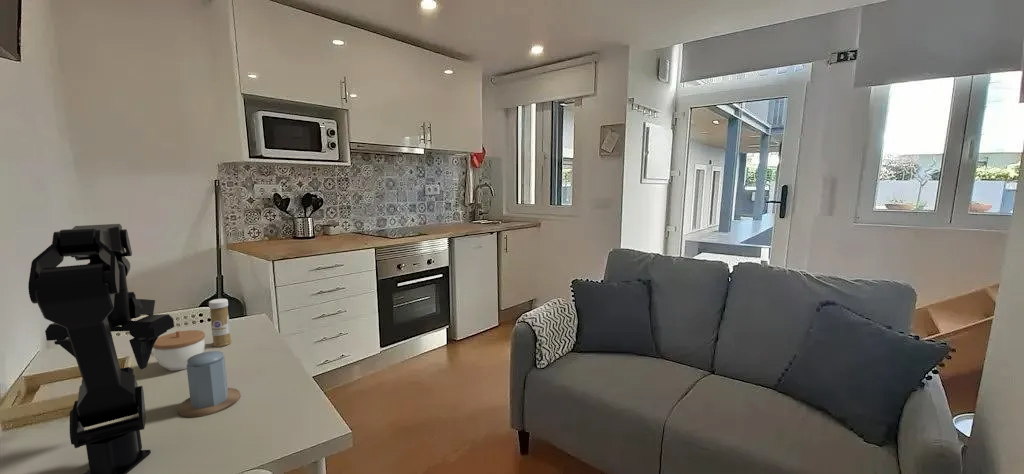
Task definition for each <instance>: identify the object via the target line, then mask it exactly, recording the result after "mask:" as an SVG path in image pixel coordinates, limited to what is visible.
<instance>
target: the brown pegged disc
mask: <svg viewBox="0 0 1024 474" xmlns="http://www.w3.org/2000/svg"><path fill="white" fill-rule="evenodd" d="M240 399H241V392H240V390H239V389H237V388H234V387H228V397H227V399H226V400H225V401H223V402H221V403H219V404H217V405H215V406H212V407H207V408H201V409H198V408H194V407H191V400H190V397H188V398H186V399H185V400H183V401H182V402H181V403H180V404H179V405H178V408H177V410H178V411H177V413H178V412H179V413H178V415H179V416H181V415H182V416H181V417H184V416H186V418H199V417H198V416H200V417H206V416H209V415H213V413H214V414H217V413H219V412H222V411H224V410H227V409H228V408H230V407H232V406H233V405H235V404H236V403H237V402H239V400H240ZM203 415H204V416H203ZM205 415H206V416H205Z"/></svg>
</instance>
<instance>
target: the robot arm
mask: <svg viewBox="0 0 1024 474" xmlns="http://www.w3.org/2000/svg"><path fill="white" fill-rule="evenodd" d="M131 247H132V246H131V241H130V238H129V233H128V230H127V229H126V228H125V229H123V226H122V224H121V223H110V224H89V225H88V224H87V225H74V227H73V228H70V229H61V230H58V231H54V232H53V235H52V242H51V244H50V245H49V246H48V247H47V248H45V249H44V250H43V251H41V253H39V254H38V255H37V256H36V257H35V258H34V259H32V261H31V265H30V272H29V279H28V284H27V285H28V288H27V289H28V294H29V296H28V297H29V298H30V301H31V303H32V304H37V305H38V308H39V310H40V312H41V313H42V316H43V319H45V320H46V321H49V322H52V323H50V324H49V325H48V326H47V327H46V330H44V333H45V337H46V342H47V341H49V342H50V341H53V343H54V345H56V346H57V345H58V346H60V347H61V348H63V349H64V350H65V351H66V352H67V353H69V354H70V355H71V356H73V357H74V358H75V360H76V361H75V362H76V364H77V366H78V369H79V373H80V375H81V384H80V385H79V389H78V396H77V400H75V401H74V403H73V407H72V409H71V410H70V411H69V438H70V440H69V441H70V444H71V445H73V447H74V449H78V448H80V447H83V446H85V449H86V454H87V455H86V456H87V462H88V467H89V469H87V470H86V471H85V472H84V473H83V474H127V473H129V472H130V471H131V470H132V469H134V468H135V467H136V466H137V465H139V463H141V462H143V460H144V459H146V458H147V457H148V456H149V455H150V454H151V451H152V450H151V449H143V444H142V436H141V431H143V430H145V427H146V421H147V420H146V419H147V416H146V404H145V394H144V393H145V392H144V387H143V385H139V383H138V382H137V378H136V375H135V373H134V369H133V368H132V367H130V366H128V367H123V368H121V367H120V362H119V360H118V359H119V358H118V355H117V350H116V347H115V343H114V338H113V336H112V332H114V333H115V332H128V333H129V335H130V336H131V337H132V338H131V339H129V340H128V341H129V344H130V347H131V350H132V353H133V355H134V356H133V357H134V358H135V362H136V363H137V365H138V367H139V369H140V370H144V369H146V368H147V366H148V364H149V361H150V358H151V354H152V352H153V346H154V344H155V342H156V340H157V338H159V337H161V335H162V336H163V334H165V333H167V331H169V330H171V329H173V328H175V322H174V318H173V316H172V315H170V314H164V313H163V314H154V312H155V306H156V305H155V304H156V300H155V299H146V298H145V299H144V298H136V294H135V292H134V291H129V289H128V280H127V277H128V275H129V273H130V271H131V263H130V261H129V260H128V258H126V257H132V255H133V250H132V248H131ZM65 257H67V258H68V257H71V258H74V259H75V261H86V260H87V261H89V262H88V263H87V264H85V263H84V264H77V265H76V264H75V265H74V264H73V265H67V266H66V265H65V266H59V265H60V264H62V263H63V262H64V258H65ZM141 315H142V316H143V315H146V316H145V317H142V316H141ZM139 317H142V318H140V319H137V318H139ZM133 319H137V320H133ZM137 414H138V415H137ZM135 415H137V416H135ZM131 416H134V417H131ZM126 417H130V418H127V419H124V418H126ZM120 419H122V420H120ZM115 420H118V421H115ZM112 421H115V422H112ZM107 422H110V423H109V424H108V423H107ZM104 423H107V424H104ZM100 424H103V425H100ZM96 425H98V426H96ZM99 425H100V426H99ZM92 426H93V427H92ZM94 426H96V427H94ZM89 427H92V428H89ZM85 428H89V429H85Z"/></svg>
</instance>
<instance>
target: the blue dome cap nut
mask: <svg viewBox="0 0 1024 474" xmlns="http://www.w3.org/2000/svg"><path fill="white" fill-rule="evenodd" d="M225 358H226V357H225V355H224V352H223V351H221V350H211V351H204V353H200V354H197V355H194V356H192V357H190V358H189V359H188V360H187V363H188V364H187V369H186V372H187V374H186V375H187V381H188V391H189V398H190V400H191V407H194V408H198V409H201V408H207V407H212V406H215V405H217V404H219V403H221V402H223V401H225V400H226V399H227V397H228V388H229V387H228V380H227V370H226V359H225Z"/></svg>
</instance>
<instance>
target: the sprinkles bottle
mask: <svg viewBox="0 0 1024 474" xmlns="http://www.w3.org/2000/svg"><path fill="white" fill-rule="evenodd" d="M228 306H229V300H228V299H227V298H215V299H212V300H209V301H208V308H209V310H210V320H211V323H210V325H211V326H210V327H211V336H212V343H213V344H212V345H213V346H214V347H215V348H216V347H218V348H220V347H225V346H228V345H231V343H232V338H231V337H232V336H231V326H230V316H229V308H228Z"/></svg>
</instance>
